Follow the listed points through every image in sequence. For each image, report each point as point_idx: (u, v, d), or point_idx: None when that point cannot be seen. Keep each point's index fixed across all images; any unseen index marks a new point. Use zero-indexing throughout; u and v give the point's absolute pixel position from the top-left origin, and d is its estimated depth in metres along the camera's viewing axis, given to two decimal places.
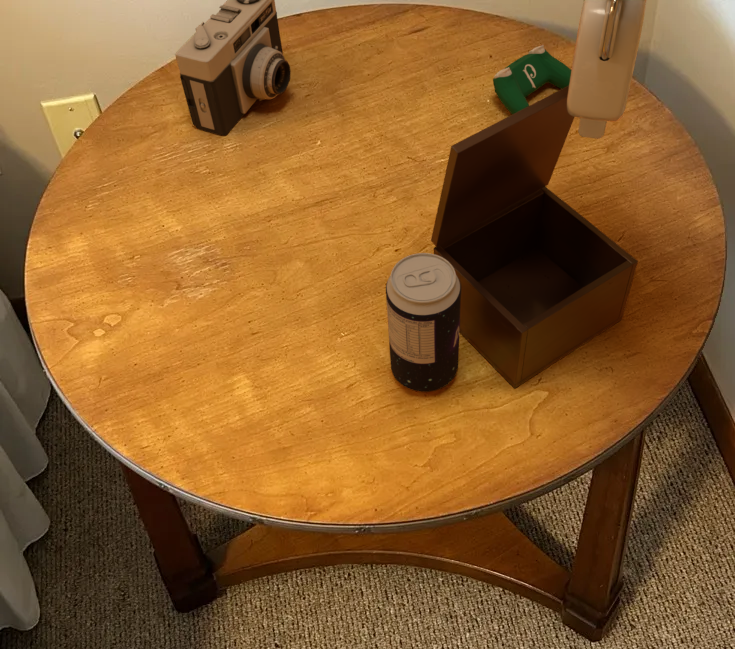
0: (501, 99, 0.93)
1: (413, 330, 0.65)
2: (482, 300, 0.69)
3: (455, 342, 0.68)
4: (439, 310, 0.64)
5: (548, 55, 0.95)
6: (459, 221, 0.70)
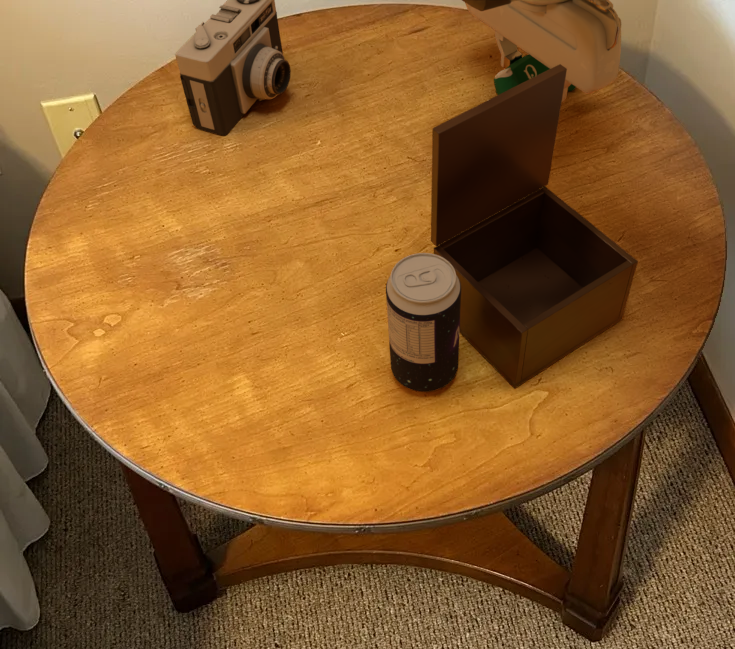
0: None
1: (413, 330, 0.65)
2: (482, 300, 0.69)
3: (455, 342, 0.68)
4: (439, 310, 0.64)
5: None
6: (456, 217, 0.70)
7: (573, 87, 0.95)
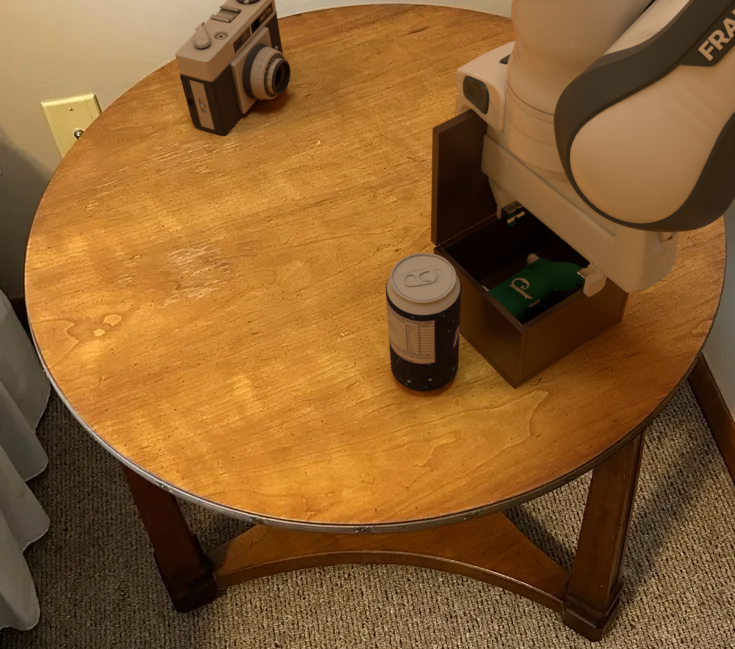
0: None
1: (413, 330, 0.65)
2: (482, 300, 0.69)
3: (455, 342, 0.68)
4: (439, 310, 0.64)
5: (544, 261, 0.75)
6: (456, 217, 0.70)
7: None
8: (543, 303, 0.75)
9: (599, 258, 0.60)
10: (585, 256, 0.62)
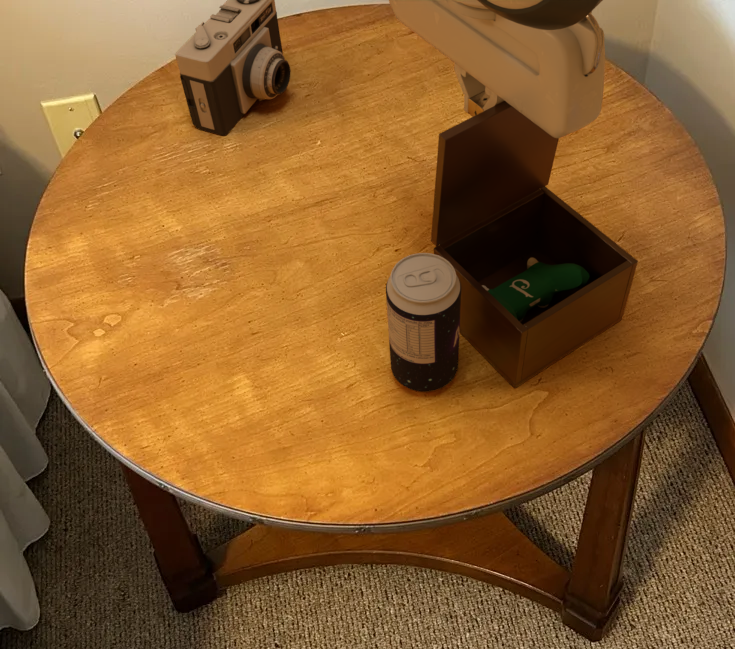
0: None
1: (413, 330, 0.65)
2: (482, 300, 0.69)
3: (455, 342, 0.68)
4: (439, 310, 0.64)
5: (544, 264, 0.76)
6: (457, 218, 0.70)
7: (579, 276, 0.73)
8: (543, 304, 0.75)
9: (526, 103, 0.59)
10: (514, 105, 0.60)
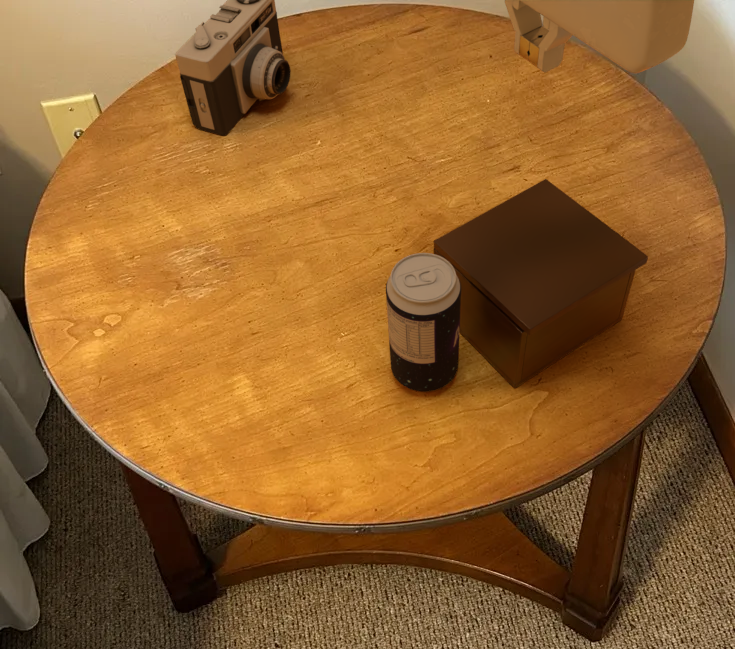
0: None
1: (413, 330, 0.65)
2: (482, 300, 0.69)
3: (455, 342, 0.68)
4: (439, 310, 0.64)
5: None
6: None
7: None
8: None
9: (597, 32, 0.50)
10: (580, 36, 0.51)
